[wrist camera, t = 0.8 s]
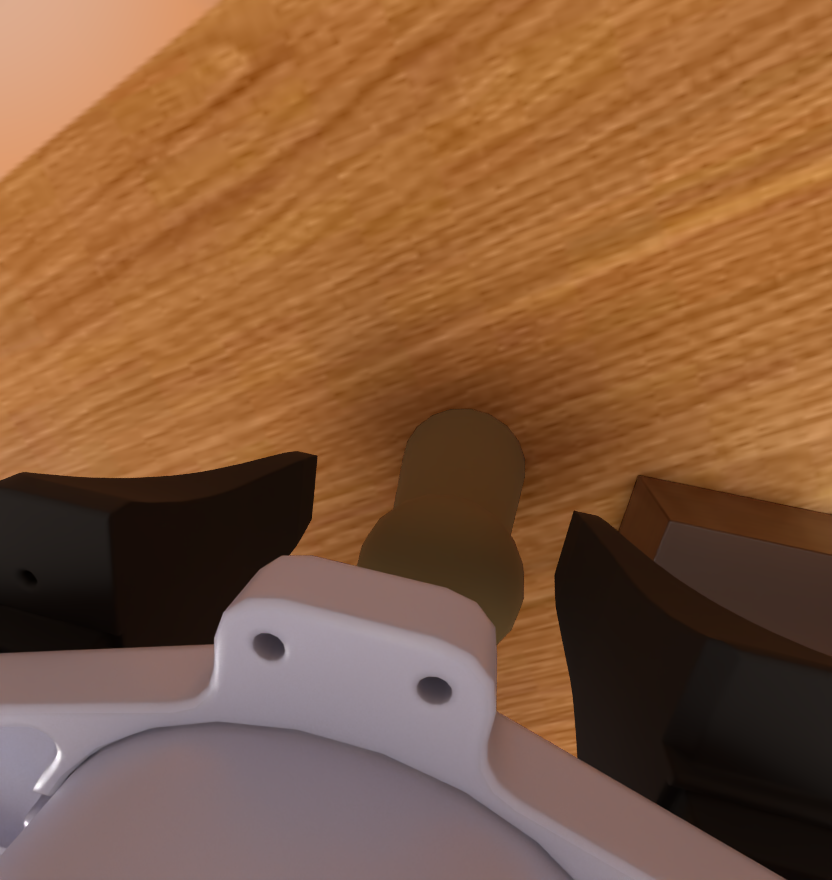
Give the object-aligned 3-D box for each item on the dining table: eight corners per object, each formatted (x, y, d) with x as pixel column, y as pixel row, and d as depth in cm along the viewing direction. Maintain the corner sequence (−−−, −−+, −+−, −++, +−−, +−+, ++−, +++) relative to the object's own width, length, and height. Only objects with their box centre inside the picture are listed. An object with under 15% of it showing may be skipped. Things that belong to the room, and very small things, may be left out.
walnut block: (819, 613, 23) (890, 688, 19) (606, 564, 24) (628, 625, 20) (869, 522, 21) (960, 582, 17) (638, 474, 22) (669, 520, 18)
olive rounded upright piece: (515, 398, 22) (525, 504, 12) (533, 515, 24) (557, 696, 13) (390, 419, 23) (302, 530, 13) (416, 528, 25) (356, 701, 15)
